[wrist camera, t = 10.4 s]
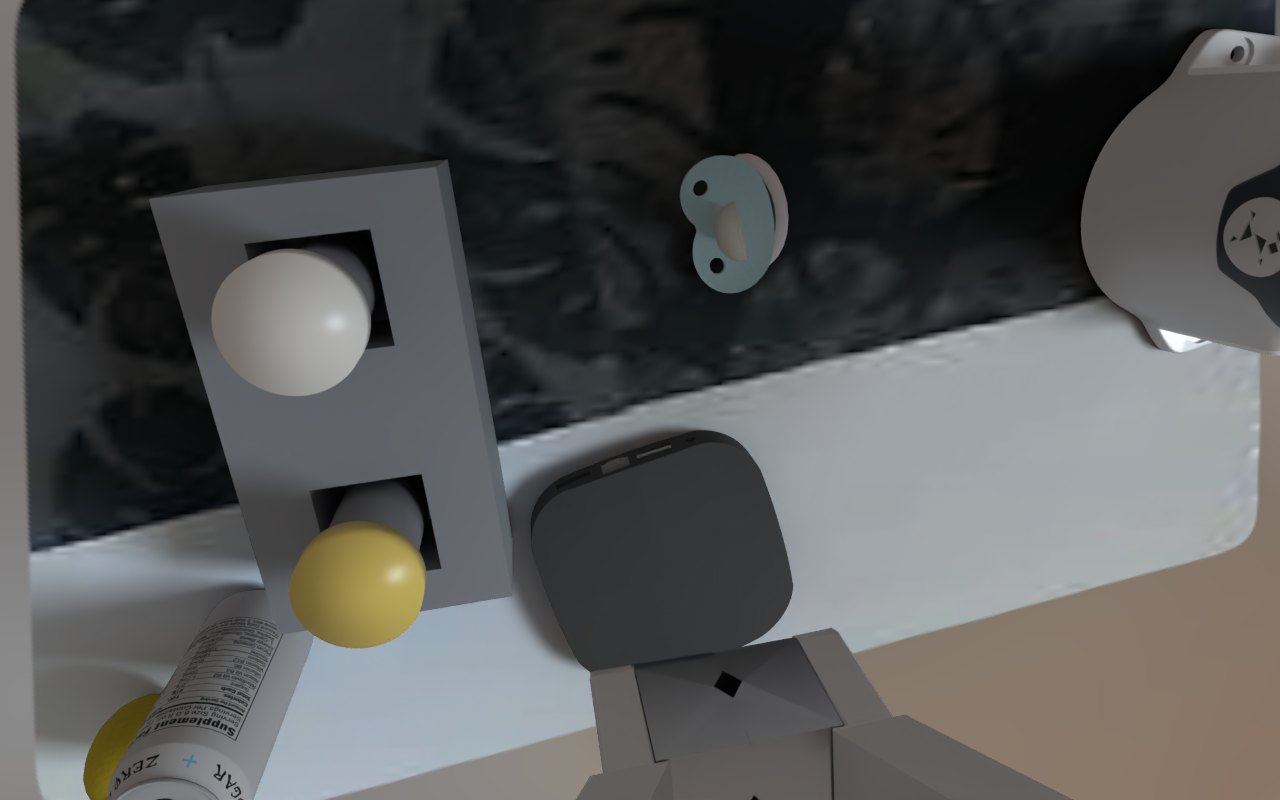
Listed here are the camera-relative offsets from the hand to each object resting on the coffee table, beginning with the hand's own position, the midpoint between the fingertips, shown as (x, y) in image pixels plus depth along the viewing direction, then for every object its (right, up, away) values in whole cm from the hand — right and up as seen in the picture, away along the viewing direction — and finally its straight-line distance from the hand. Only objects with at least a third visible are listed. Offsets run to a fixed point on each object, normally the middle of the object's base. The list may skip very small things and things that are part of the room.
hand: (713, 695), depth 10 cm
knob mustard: (-15, -1, +36) cm, 39 cm away
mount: (-16, +5, +35) cm, 39 cm away
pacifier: (+4, +14, +36) cm, 39 cm away
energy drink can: (-24, -10, +40) cm, 47 cm away
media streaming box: (0, -6, +42) cm, 43 cm away
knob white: (-16, +10, +32) cm, 37 cm away
